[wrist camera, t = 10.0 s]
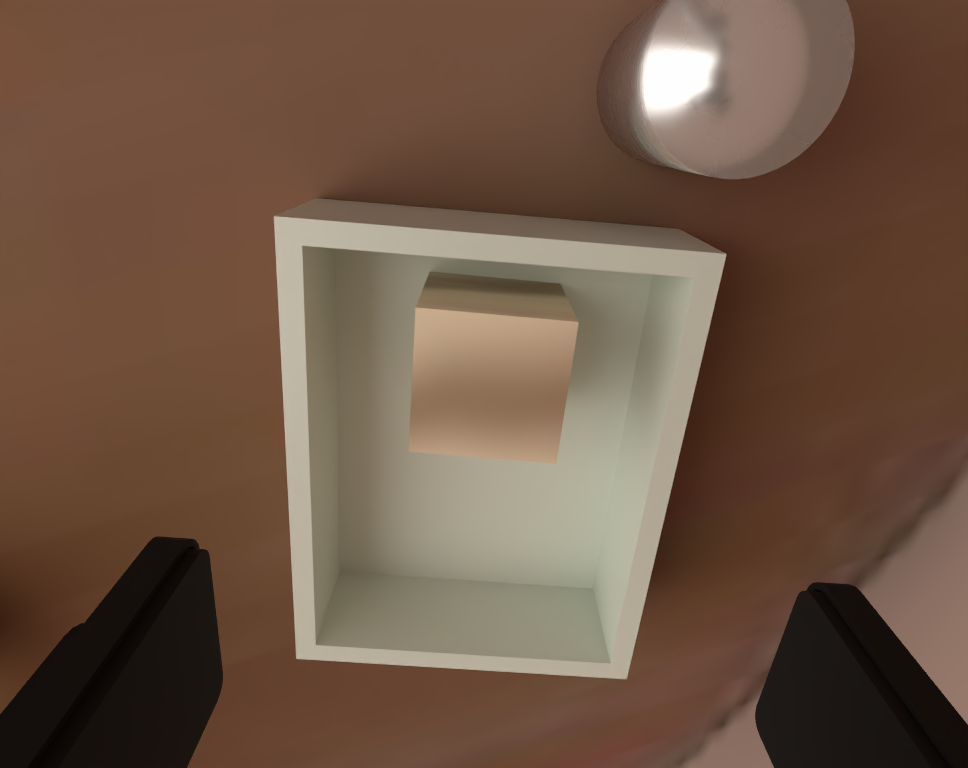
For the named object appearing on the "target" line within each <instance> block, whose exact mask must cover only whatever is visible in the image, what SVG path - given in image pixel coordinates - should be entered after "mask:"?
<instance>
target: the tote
mask: <svg viewBox="0 0 968 768" xmlns="http://www.w3.org/2000/svg"><path fill="white" fill-rule="evenodd" d="M274 225H275V245H276V265H277V285H278V304H279V324H280V344H281V364H282V383H283V403H284V423H285V443H286V462H287V482H288V502H289V522H290V541H291V561H292V581H293V600H294V620H295V640H296V659H309V660H325V661H341V662H358V663H374V664H390V665H406V666H422V667H438V668H455V669H471V670H487V671H503V672H519V673H535V674H552V675H568V676H584V677H600V678H616V679H627V675H628V671H629V667H630V662H631V658H632V654H633V650H634V645H635V641H636V637H637V633H638V628H639V624H640V620H641V616H642V611H643V607H644V603H645V599H646V594H647V590H648V586H649V582H650V577H651V573H652V569H653V565H654V560H655V556H656V552H657V548H658V543H659V539H660V535H661V531H662V526H663V522H664V518H665V514H666V509H667V505H668V501H669V497H670V492H671V488H672V484H673V480H674V476H675V471H676V467H677V463H678V459H679V454H680V450H681V446H682V442H683V437H684V433H685V429H686V425H687V420H688V416H689V412H690V408H691V403H692V399H693V395H694V391H695V386H696V382H697V378H698V374H699V369H700V365H701V361H702V357H703V352H704V348H705V344H706V340H707V335H708V331H709V327H710V323H711V318H712V314H713V310H714V306H715V301H716V297H717V293H718V289H719V284H720V280H721V276H722V272H723V267H724V263H725V259H726V255H727V254H726V253H724V252H722V251H720V250H718V249H716V248H714V247H712V246H710V245H709V244H707V243H705V242H703V241H701V240H699V239H697V238H695V237H693V236H691V235H689V234H688V233H686V232H684V231H682V230H680V229H676V228H665V227H653V226H641V225H629V224H617V223H605V222H594V221H582V220H570V219H558V218H546V217H534V216H523V215H511V214H499V213H487V212H475V211H463V210H452V209H440V208H428V207H416V206H404V205H392V204H381V203H369V202H357V201H345V200H333V199H321V198H316V199H314V200H311V201H309V202H307V203H304V204H302V205H299V206H297V207H295V208H292V209H290V210H288V211H285V212H283V213H280V214H278V215H276V216H274ZM429 272H440V273H451V274H462V275H473V276H484V277H494V278H505V279H516V280H527V281H538V282H549V283H560V284H561V286H562V288H563V290H564V292H565V294H566V296H567V299H568V301H569V303H570V305H571V307H572V309H573V311H574V313H575V315H576V317H577V319H578V321H579V324H578V331H577V337H576V343H575V349H574V356H573V362H572V368H571V375H570V381H569V387H568V394H567V400H566V406H565V412H564V419H563V425H562V431H561V438H560V444H559V450H558V456H557V463H556V464H554V463H542V462H529V461H517V460H505V459H492V458H480V457H468V456H456V455H443V454H431V453H419V452H408V449H409V429H410V409H411V389H412V369H413V349H414V329H415V309H416V305H417V303H418V300H419V297H420V295H421V292H422V290H423V287H424V284H425V282H426V279H427V277H428V274H429Z"/></svg>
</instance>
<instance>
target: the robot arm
mask: <svg viewBox="0 0 968 768" xmlns="http://www.w3.org/2000/svg"><path fill="white" fill-rule="evenodd" d="M222 682H223V670H222V662H221V653H220V644H219V635H218V626H217V617H216V609H215V600H214V591H213V582H212V573H211V565H210V557H209V553H208V551H207V550H205V549H199V545H198V543H197V541H196V540H194V539H186V538H172V537H155V538H153V539H152V540H151V541H150V542H149V543H148V544H147V545H146V546H145V548H144V549H143V550H142V551H141V553H140V554H139V555H138V556H137V558H136V559H135V560H134V561H133V563H132V564H131V565H130V566H129V568H128V569H127V570H126V572H125V573H124V574H123V575H122V577H121V578H120V579H119V580H118V582H117V583H116V584H115V585H114V587H113V588H112V589H111V590H110V592H109V593H108V594H107V595H106V597H105V598H104V599H103V600H102V602H101V603H100V604H99V605H98V607H97V608H96V609H95V610H94V612H93V613H92V614H91V615H90V617H89V618H88V619H87V620H86V622H85V623H81V624H79V625H77V626H75V627H74V628H72V629H71V630H70V631H69V632H68V633H67V634H66V635H65V636H64V637H63V638H62V640H61V641H60V642H59V643H58V644H57V646H56V647H55V648H54V649H53V651H52V652H51V653H50V654H49V655H48V657H47V658H46V659H45V660H44V662H43V663H42V664H41V665H40V667H39V668H38V669H37V670H36V671H35V673H34V674H33V675H32V676H31V678H30V679H29V680H28V681H27V682H26V684H25V685H24V686H23V687H22V689H21V690H20V691H19V692H18V693H17V695H16V696H15V697H14V698H13V700H12V701H11V702H10V703H9V705H8V706H7V707H6V708H5V709H4V711H3V712H2V713H1V714H0V768H187V766H188V764H189V762H190V760H191V757H192V755H193V753H194V751H195V749H196V747H197V744H198V742H199V740H200V738H201V736H202V733H203V731H204V729H205V727H206V725H207V723H208V720H209V718H210V716H211V714H212V712H213V710H214V707H215V705H216V703H217V701H218V698H219V695H220V692H221V688H222ZM755 719H756V725H757V730H758V732H759V735H760V737H761V739H762V742H763V744H764V746H765V748H766V750H767V753H768V755H769V757H770V759H771V762H772V764H773V766H774V768H968V725H967V723H966V722H965V721H964V720H963V718H962V717H961V716H960V715H959V714H958V712H957V711H956V710H955V709H954V707H953V706H952V705H951V703H950V702H949V701H948V700H947V698H946V697H945V696H944V695H943V694H942V692H941V691H940V690H939V688H938V687H937V686H936V685H935V683H934V682H933V681H932V680H931V679H930V677H929V676H928V675H927V674H926V672H925V671H924V670H923V669H922V667H921V666H920V665H919V664H918V662H917V661H916V660H915V659H914V657H913V656H912V655H911V654H910V652H909V651H908V650H907V649H906V647H905V646H904V645H903V644H902V642H901V641H900V640H899V639H898V637H897V636H896V635H895V634H894V632H893V631H892V630H891V629H890V627H889V626H888V625H887V624H886V622H885V621H884V620H883V619H882V617H881V616H880V615H879V614H878V612H877V611H876V610H875V609H874V608H873V606H872V605H871V604H870V603H869V601H868V600H867V599H866V598H865V596H864V595H863V594H862V593H861V591H860V590H858V589H857V588H856V587H855V586H852V585H849V584H835V583H820V582H816V583H812V584H811V585H810V586H809V587H808V589H807V591H802V592H800V593H799V595H798V596H797V599H796V601H795V604H794V607H793V609H792V612H791V615H790V617H789V620H788V623H787V626H786V628H785V631H784V634H783V636H782V639H781V642H780V644H779V647H778V650H777V652H776V655H775V658H774V661H773V663H772V666H771V669H770V671H769V674H768V677H767V679H766V682H765V685H764V688H763V690H762V693H761V696H760V698H759V701H758V704H757V707H756V712H755Z"/></svg>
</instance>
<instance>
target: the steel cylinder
mask: <svg viewBox="0 0 968 768" xmlns="http://www.w3.org/2000/svg"><path fill="white" fill-rule="evenodd" d="M854 53H855V34H854V27H853V20H852V16H851V13H850V9H849V6H848V3H847V1H846V0H661V1H659V2H658V3H656V4H655V5H654V6H652V7H651V8H650V9H648V10H647V11H645V12H644V13H643V14H641V15H640V16H639V17H637V18H636V19H635V20H633V21H632V22H631V23H630V24H628V25H627V26H626V27H625V28H624V29H623V30H622V31H621V32H620V33H619V35H618V36H617V37H616V39H615V40H614V41H613V43H612V44H611V46H610V48H609V49H608V51H607V53H606V55H605V58H604V60H603V63H602V66H601V69H600V72H599V77H598V84H597V104H598V110H599V114H600V118H601V121H602V124H603V126H604V128H605V130H606V132H607V134H608V135H609V137H610V138H611V140H612V141H613V142H614V143H615V144H616V146H617V147H619V148H620V149H621V150H622V151H623V152H625V153H626V154H627V155H629V156H631V157H633V158H635V159H637V160H639V161H643V162H646V163H650V164H655V165H659V166H664V167H669V168H673V169H678V170H682V171H687V172H692V173H696V174H701V175H705V176H710V177H715V178H722V179H743V178H751V177H755V176H759V175H763V174H765V173H768V172H771V171H773V170H776V169H778V168H779V167H781V166H783V165H785V164H787V163H789V162H790V161H792V160H793V159H794V158H796V157H797V156H799V155H800V154H801V153H803V152H804V151H805V150H806V149H807V148H808V147H809V146H811V145H812V144H813V142H814V141H815V140H816V139H817V138H818V137H819V136H820V135H821V134H822V132H823V131H824V130H825V129H826V127H827V126H828V125H829V123H830V122H831V120H832V118H833V117H834V115H835V113H836V112H837V110H838V108H839V106H840V104H841V102H842V100H843V98H844V95H845V93H846V90H847V87H848V84H849V81H850V77H851V73H852V68H853V62H854Z"/></svg>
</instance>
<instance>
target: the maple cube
mask: <svg viewBox="0 0 968 768" xmlns="http://www.w3.org/2000/svg"><path fill="white" fill-rule="evenodd" d="M578 324H579V321H578V319H577V317H576V315H575V313H574V311H573V309H572V307H571V305H570V303H569V301H568V299H567V296H566V294H565V292H564V290H563V288H562V286H561V284H560V283H549V282H538V281H527V280H516V279H505V278H494V277H484V276H473V275H462V274H451V273H440V272H429V274H428V277H427V279H426V282H425V284H424V287H423V290H422V292H421V295H420V297H419V300H418V303H417V305H416V309H415V329H414V349H413V369H412V389H411V409H410V429H409V449H408V452H419V453H431V454H443V455H456V456H468V457H480V458H492V459H505V460H517V461H529V462H542V463H554V464H556V463H557V456H558V450H559V444H560V438H561V431H562V425H563V419H564V412H565V406H566V400H567V394H568V387H569V381H570V375H571V368H572V362H573V356H574V349H575V343H576V337H577V331H578Z"/></svg>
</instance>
